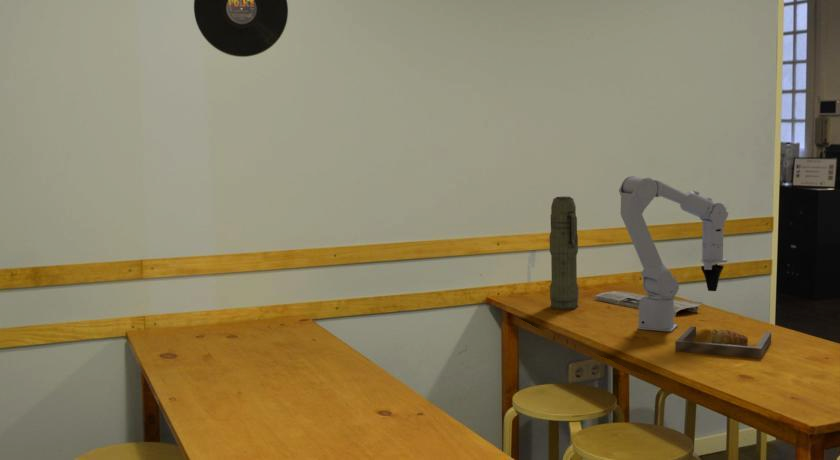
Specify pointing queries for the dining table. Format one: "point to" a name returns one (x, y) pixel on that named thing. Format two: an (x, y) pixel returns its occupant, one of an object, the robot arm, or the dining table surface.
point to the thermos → (564, 254)
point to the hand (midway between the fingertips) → (712, 290)
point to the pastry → (728, 338)
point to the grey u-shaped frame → (721, 346)
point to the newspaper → (634, 299)
